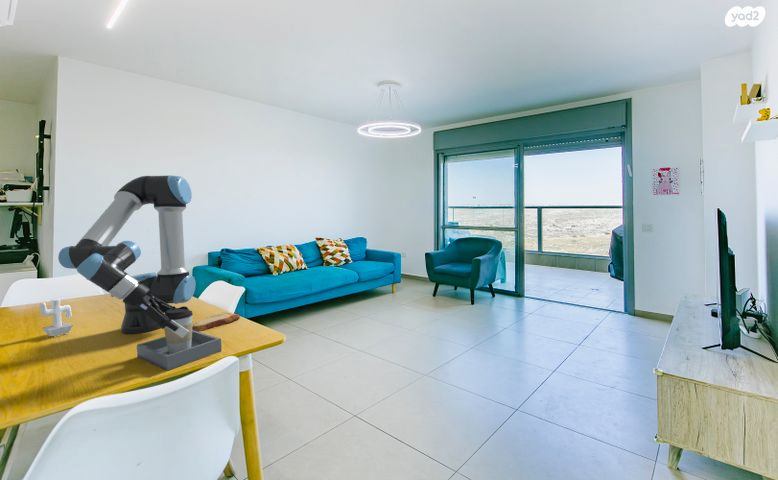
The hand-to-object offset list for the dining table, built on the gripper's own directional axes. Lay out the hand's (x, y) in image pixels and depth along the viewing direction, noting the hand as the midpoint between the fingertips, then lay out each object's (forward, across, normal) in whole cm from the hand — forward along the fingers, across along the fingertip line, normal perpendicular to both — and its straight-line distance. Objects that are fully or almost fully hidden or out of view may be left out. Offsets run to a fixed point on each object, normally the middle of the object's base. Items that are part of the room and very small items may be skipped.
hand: (186, 328), depth 123 cm
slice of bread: (+14, -31, +1) cm, 34 cm away
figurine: (-27, -48, -40) cm, 68 cm away
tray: (+4, 0, -8) cm, 9 cm away
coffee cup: (+4, 0, -7) cm, 8 cm away
